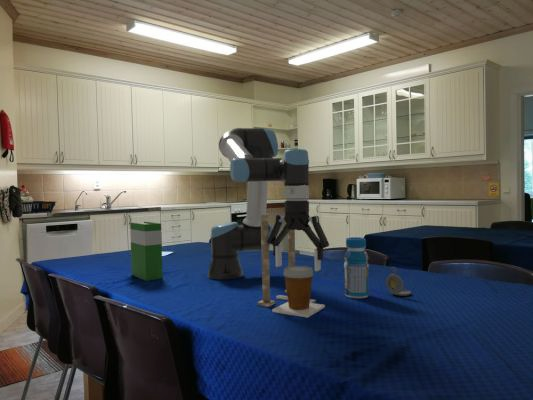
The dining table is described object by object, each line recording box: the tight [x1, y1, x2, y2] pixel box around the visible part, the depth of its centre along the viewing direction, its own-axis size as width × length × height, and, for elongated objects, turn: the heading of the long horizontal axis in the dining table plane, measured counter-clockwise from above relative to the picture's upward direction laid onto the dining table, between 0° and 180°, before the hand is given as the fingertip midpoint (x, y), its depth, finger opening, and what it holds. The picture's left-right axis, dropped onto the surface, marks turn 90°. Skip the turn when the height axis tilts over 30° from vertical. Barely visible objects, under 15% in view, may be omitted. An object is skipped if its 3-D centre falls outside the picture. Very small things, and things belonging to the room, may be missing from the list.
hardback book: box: [129, 221, 164, 282], centre depth 184 cm, size 18×7×24 cm, turn 38°
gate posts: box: [257, 214, 296, 308], centre depth 141 cm, size 4×22×29 cm, turn 148°
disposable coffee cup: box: [282, 265, 315, 310], centre depth 127 cm, size 10×10×12 cm
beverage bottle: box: [343, 236, 370, 299], centre depth 142 cm, size 8×8×20 cm
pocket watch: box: [385, 266, 412, 297], centre depth 143 cm, size 8×8×10 cm
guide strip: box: [275, 294, 317, 303], centre depth 137 cm, size 14×4×1 cm, turn 58°
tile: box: [271, 301, 326, 318], centre depth 127 cm, size 12×12×1 cm
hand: (297, 268), depth 128 cm, fingers open, 13 cm apart
